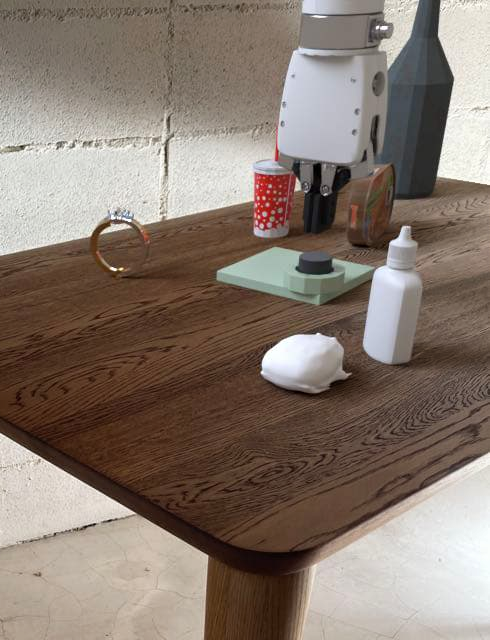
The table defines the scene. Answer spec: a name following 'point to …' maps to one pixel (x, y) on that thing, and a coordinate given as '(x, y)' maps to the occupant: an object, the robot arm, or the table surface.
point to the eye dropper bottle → (394, 304)
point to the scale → (294, 276)
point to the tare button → (315, 263)
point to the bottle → (417, 106)
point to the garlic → (304, 363)
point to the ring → (119, 218)
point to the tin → (371, 205)
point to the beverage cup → (272, 196)
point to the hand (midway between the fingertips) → (317, 230)
